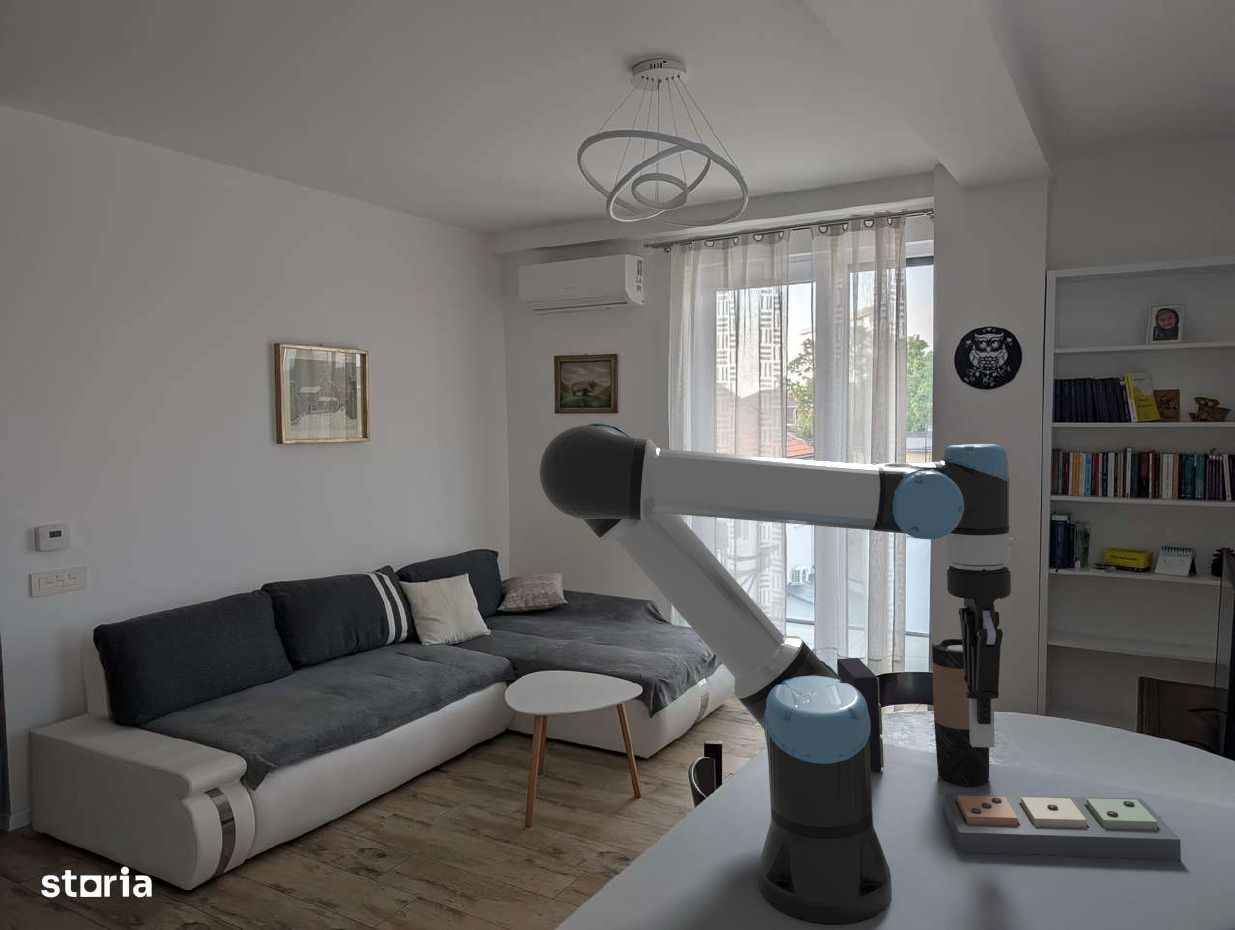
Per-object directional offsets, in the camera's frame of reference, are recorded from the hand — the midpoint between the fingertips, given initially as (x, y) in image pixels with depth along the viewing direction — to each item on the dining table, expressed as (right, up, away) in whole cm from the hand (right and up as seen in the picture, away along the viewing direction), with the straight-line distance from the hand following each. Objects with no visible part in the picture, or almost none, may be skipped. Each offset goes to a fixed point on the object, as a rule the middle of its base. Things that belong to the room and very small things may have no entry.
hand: (982, 744), depth 110 cm
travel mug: (+5, -11, +17) cm, 21 cm away
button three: (+1, -11, +1) cm, 11 cm away
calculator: (-8, -11, +26) cm, 29 cm away
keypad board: (+9, -11, -1) cm, 14 cm away
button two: (+17, -10, -2) cm, 20 cm away
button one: (+9, -11, -1) cm, 14 cm away
